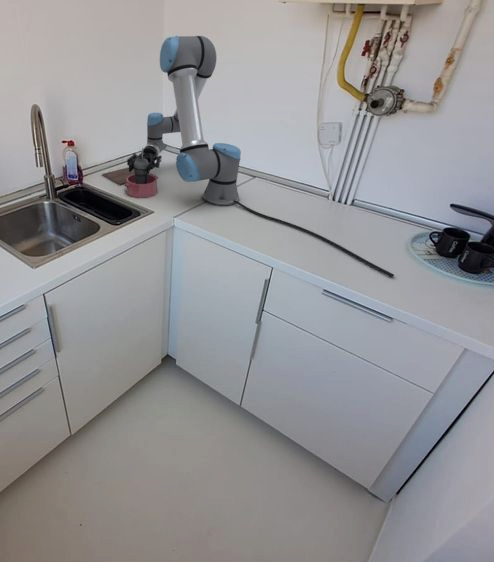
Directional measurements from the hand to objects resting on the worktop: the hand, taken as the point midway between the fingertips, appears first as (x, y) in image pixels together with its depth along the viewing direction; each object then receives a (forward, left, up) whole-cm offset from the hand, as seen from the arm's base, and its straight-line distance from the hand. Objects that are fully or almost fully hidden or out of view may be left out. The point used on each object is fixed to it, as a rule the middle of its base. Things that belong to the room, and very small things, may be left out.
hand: (138, 169), depth 160 cm
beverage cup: (+3, -4, -12) cm, 13 cm away
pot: (+3, -4, -12) cm, 13 cm away
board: (+23, -10, -12) cm, 28 cm away
